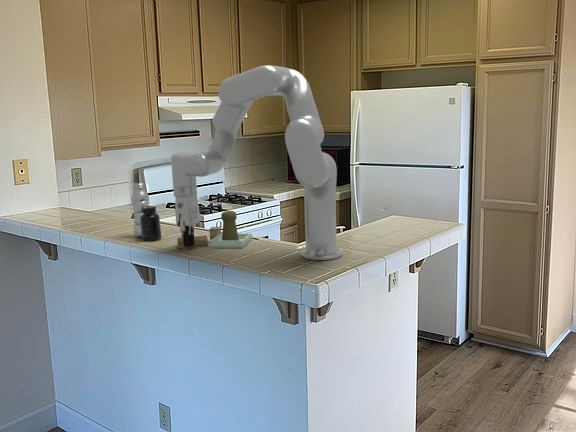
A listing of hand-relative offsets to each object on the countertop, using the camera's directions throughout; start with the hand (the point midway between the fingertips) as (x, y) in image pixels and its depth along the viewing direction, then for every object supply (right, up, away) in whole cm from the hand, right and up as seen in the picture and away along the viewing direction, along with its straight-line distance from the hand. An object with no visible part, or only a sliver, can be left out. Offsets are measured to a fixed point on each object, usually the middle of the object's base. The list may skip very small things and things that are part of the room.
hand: (189, 245), depth 189 cm
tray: (+13, 0, +5) cm, 15 cm away
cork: (+13, 0, +5) cm, 14 cm away
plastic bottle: (-21, +2, +22) cm, 31 cm away
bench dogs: (+2, +1, +11) cm, 11 cm away
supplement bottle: (-17, +1, +17) cm, 24 cm away
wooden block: (0, -1, +5) cm, 5 cm away
